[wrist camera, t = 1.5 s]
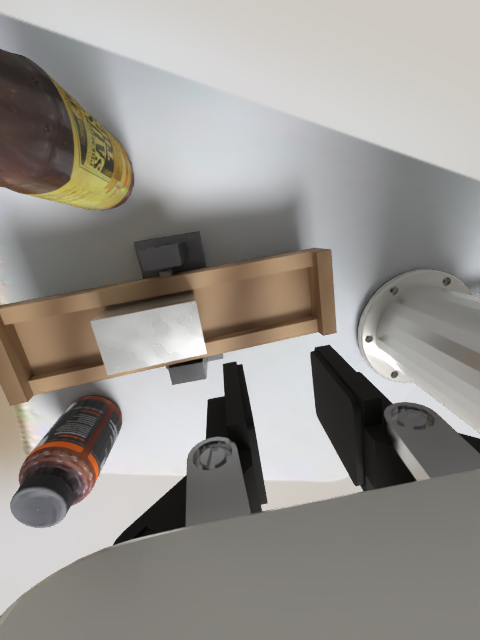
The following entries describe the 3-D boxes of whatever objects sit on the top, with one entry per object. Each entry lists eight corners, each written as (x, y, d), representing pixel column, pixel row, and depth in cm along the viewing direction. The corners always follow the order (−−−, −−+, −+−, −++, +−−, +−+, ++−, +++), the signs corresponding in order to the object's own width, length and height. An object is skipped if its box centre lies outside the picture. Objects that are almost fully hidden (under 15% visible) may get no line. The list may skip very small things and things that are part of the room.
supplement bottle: (58, 400, 32) (-22, 488, 21) (112, 387, 32) (59, 467, 21) (80, 445, 34) (16, 546, 23) (131, 432, 34) (91, 527, 23)
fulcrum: (307, 213, 28) (330, 208, 23) (318, 339, 32) (340, 361, 27) (28, 259, 28) (-19, 267, 22) (73, 382, 31) (43, 415, 26)
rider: (193, 290, 24) (195, 300, 20) (203, 336, 25) (206, 353, 22) (105, 307, 23) (90, 321, 19) (119, 354, 24) (107, 375, 21)
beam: (303, 242, 28) (330, 244, 23) (310, 319, 31) (336, 336, 25) (13, 294, 25) (-33, 310, 20) (45, 376, 27) (12, 410, 22)
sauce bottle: (151, 188, 27) (-8, 84, 8) (94, 225, 27) (-189, 211, 8) (105, 114, 25) (-255, -267, 6) (44, 155, 25) (-471, -74, 6)
